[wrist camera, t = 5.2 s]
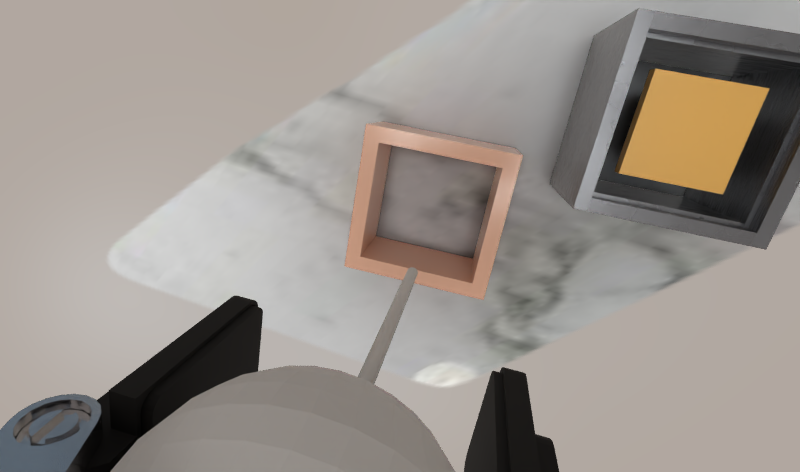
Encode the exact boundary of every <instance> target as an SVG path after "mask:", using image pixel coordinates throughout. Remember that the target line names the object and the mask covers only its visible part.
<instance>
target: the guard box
mask: <svg viewBox="0 0 800 472" xmlns="http://www.w3.org/2000/svg"><path fill="white" fill-rule="evenodd" d="M638 61H644V62H650V63H655V64H661V65H667V66H673V67H678V68H684V69H690V70H696V71H702V72H707V73H713V74H719V75H725V76H730V77H732V79H731V81H730V82H736V83H741V84H747V85H753V86H758V87H764V88H770V89H769V91H768V93H767V96H766V98H765V100H764V102H763V105H762V107H761V109H760V111H759V114H758V116H757V118H756V121H755V123H754V125H753V127H752V130H751V132H750V134H749V136H748V139H747V141H746V143H745V146H744V148H743V150H742V152H741V155H740V157H739V159H738V161H737V164H736V166H735V168H734V170H733V173H732V175H731V177H730V180H729V182H728V184H727V186H726V189H725V191H724V193H723V194H718V193H713V192H708V191H703V190H698V189H693V188H689V187H687V188H686V191H685V193H684V196H683V197H681V196H676V195H671V194H667V193H662V192H657V191H652V190H647V189H642V188H637V187H632V186H628V185H623V184H618V183H613V182H608V181H603V180H598V179H599V176H600V173H601V170H602V167H603V164H604V161H605V158H606V155H607V152H608V149H609V146H610V143H611V140H612V137H613V134H614V131H615V128H616V125H617V122H618V119H619V116H620V114H621V111H622V108H623V105H624V102H625V99H626V96H627V93H628V90H629V87H630V84H631V81H632V78H633V75H634V72H635V69H636V66H637V63H638ZM799 182H800V34H796V33H790V32H783V31H777V30H771V29H765V28H758V27H752V26H746V25H740V24H733V23H727V22H721V21H715V20H708V19H702V18H696V17H690V16H683V15H677V14H671V13H665V12H659V11H652V10H646V9H640V8H638V9H637V10H635V11H634V12H632V13H630V14H629V15H627V16H625V17H624V18H622V19H621V20H619V21H617V22H616V23H614V24H612V25H611V26H609V27H607V28H606V29H604V30H603V31H601V32H599V33H598V34H596V35H594V38H593V41H592V44H591V48H590V51H589V54H588V58H587V61H586V64H585V68H584V71H583V74H582V78H581V81H580V84H579V88H578V91H577V94H576V97H575V101H574V104H573V107H572V111H571V114H570V117H569V121H568V124H567V127H566V131H565V134H564V137H563V141H562V144H561V147H560V150H559V154H558V157H557V160H556V164H555V167H554V170H553V174H552V177H551V180H550V185H551V186H552V187H553V188H554V189H555V190H556V191H557V192H558V193H559V194H560V195H561V196H562V197H563V198H564V199H565V200H566V201H567V202H568V203H569V204H570V205H571V206H572V207H573V208H574V209H579V210H583V211H588V212H593V213H597V214H602V215H607V216H611V217H616V218H621V219H625V220H630V221H635V222H639V223H644V224H649V225H654V226H658V227H663V228H668V229H672V230H677V231H682V232H686V233H691V234H696V235H700V236H705V237H710V238H714V239H719V240H724V241H728V242H733V243H738V244H742V245H747V246H752V247H756V248H761V249H767V247H768V245H769V242H770V241H771V239H772V237H773V235H774V233H775V231H776V229H777V227H778V225H779V223H780V220H781V218H782V216H783V214H784V212H785V210H786V208H787V206H788V204H789V202H790V200H791V198H792V196H793V194H794V192H795V190H796V188H797V186H798V184H799Z"/></svg>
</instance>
